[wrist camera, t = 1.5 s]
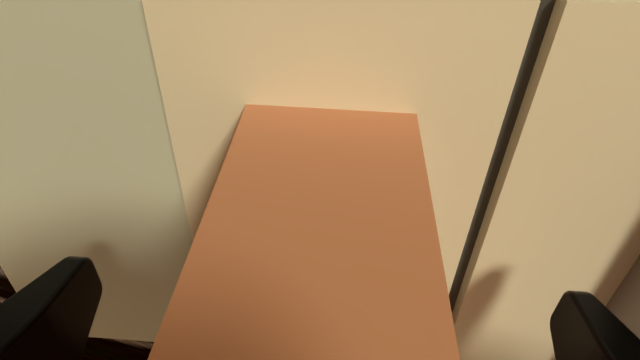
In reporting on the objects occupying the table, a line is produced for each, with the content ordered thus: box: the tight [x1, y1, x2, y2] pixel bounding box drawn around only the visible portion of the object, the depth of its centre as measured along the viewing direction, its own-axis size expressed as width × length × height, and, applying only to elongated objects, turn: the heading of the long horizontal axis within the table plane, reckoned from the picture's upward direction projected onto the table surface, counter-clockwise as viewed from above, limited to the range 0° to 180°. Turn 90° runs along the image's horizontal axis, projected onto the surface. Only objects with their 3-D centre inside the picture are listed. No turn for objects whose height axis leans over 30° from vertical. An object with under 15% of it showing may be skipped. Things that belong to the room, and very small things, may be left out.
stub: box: [142, 0, 541, 360], centre depth 8 cm, size 6×10×6 cm, turn 179°
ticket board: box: [0, 0, 640, 360], centre depth 10 cm, size 18×12×3 cm, turn 89°
